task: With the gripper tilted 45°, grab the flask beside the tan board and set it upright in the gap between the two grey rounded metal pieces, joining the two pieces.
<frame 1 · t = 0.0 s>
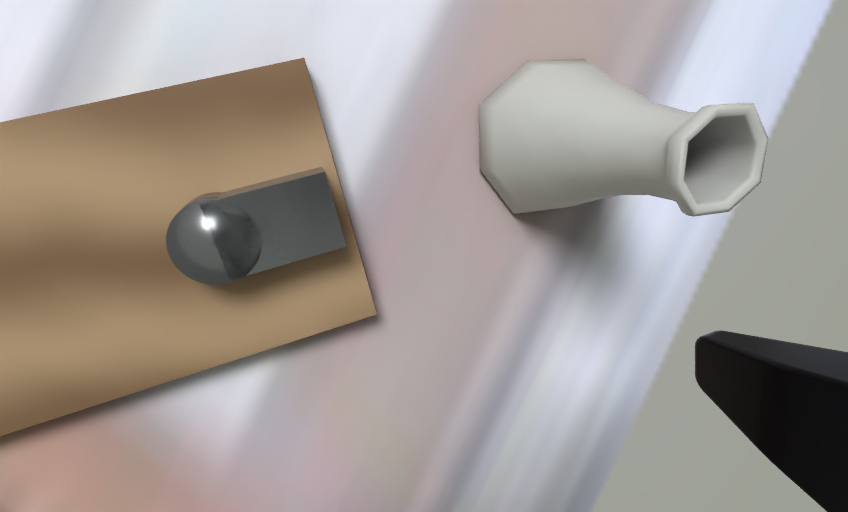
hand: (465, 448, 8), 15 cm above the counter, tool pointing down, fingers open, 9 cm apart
flask: (542, 138, 22), on the counter
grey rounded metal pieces: (14, 293, 16), on the tan board, point 1 cm above the counter
tan board: (42, 274, 18), on the counter
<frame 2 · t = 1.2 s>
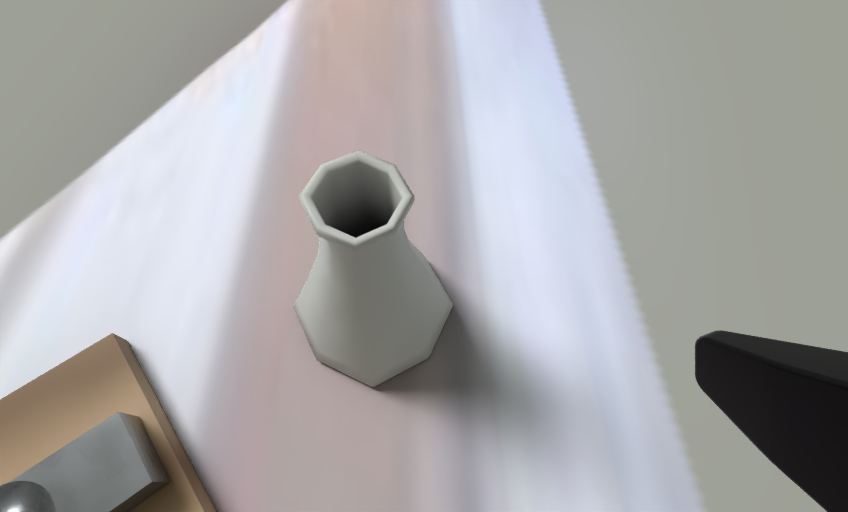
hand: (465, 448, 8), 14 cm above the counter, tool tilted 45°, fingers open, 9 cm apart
flask: (374, 309, 23), on the counter
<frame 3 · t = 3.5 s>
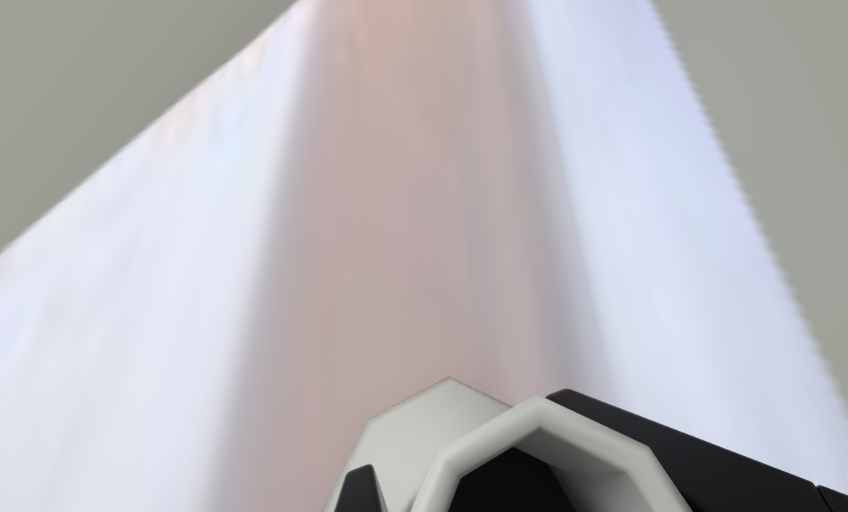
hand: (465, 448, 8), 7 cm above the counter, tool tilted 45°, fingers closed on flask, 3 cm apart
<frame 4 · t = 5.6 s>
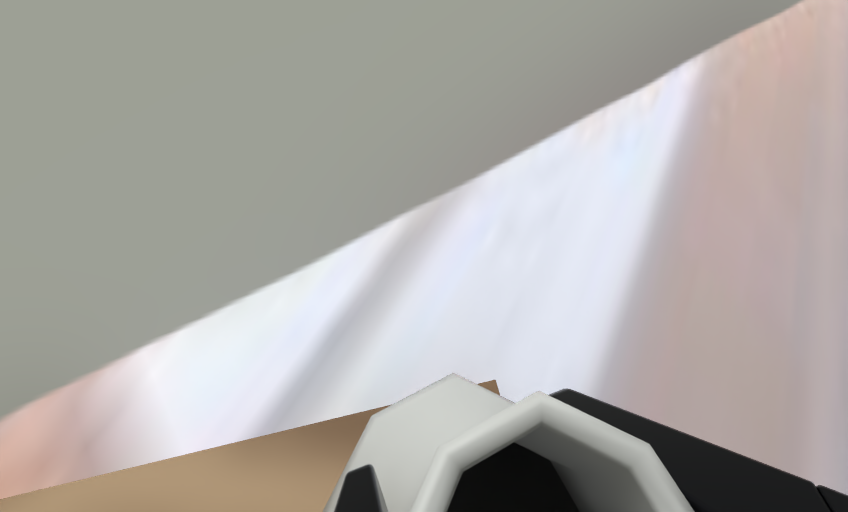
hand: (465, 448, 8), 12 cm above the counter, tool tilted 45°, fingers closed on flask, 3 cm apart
flask: (457, 508, 14), point 5 cm above the counter, touching gripper
when the fingers open (9 cm above the counter, at t = 7.6 s): flask drops 1 cm, resting on tan board.
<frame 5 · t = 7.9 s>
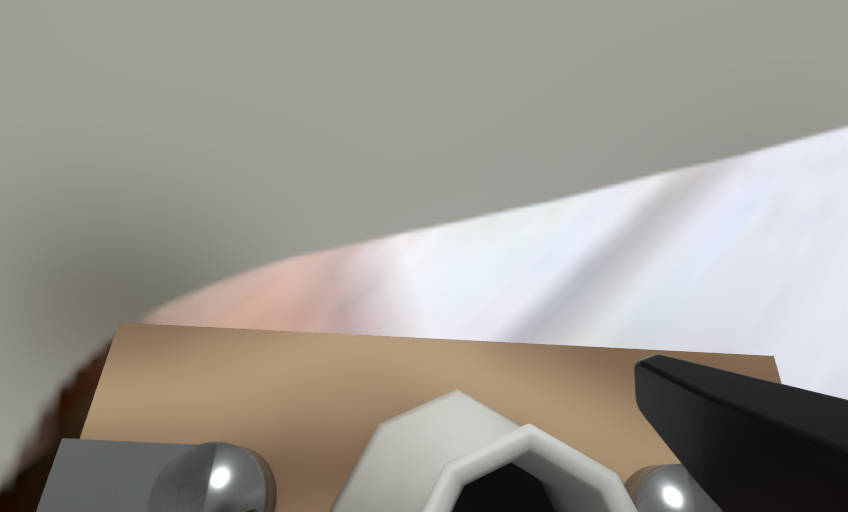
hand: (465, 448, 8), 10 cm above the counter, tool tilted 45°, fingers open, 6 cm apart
tan board: (445, 508, 16), on the counter
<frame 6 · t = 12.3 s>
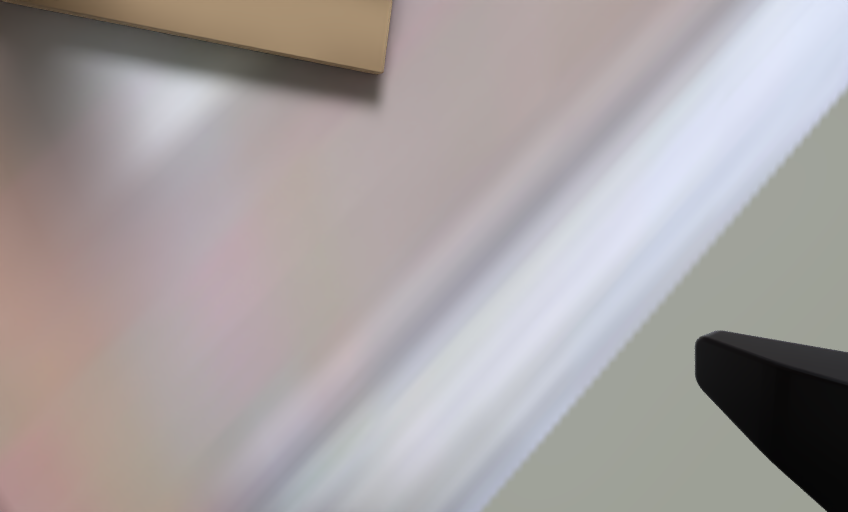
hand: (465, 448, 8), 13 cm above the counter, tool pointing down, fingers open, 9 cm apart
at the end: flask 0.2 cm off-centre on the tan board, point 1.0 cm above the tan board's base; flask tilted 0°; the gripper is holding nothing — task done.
